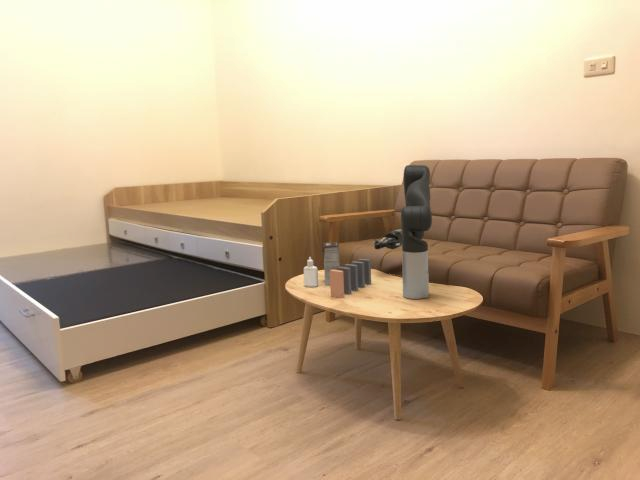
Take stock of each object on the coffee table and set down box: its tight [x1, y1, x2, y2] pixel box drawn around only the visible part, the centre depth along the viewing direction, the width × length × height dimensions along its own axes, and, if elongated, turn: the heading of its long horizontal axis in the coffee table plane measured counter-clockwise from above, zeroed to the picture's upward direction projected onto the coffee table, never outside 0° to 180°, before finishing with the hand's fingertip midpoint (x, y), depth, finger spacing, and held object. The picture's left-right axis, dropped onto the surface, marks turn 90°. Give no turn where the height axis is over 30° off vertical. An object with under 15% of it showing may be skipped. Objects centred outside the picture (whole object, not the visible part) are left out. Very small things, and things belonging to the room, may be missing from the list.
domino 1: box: [329, 270, 345, 299], centre depth 199 cm, size 2×5×10 cm, turn 54°
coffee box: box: [323, 241, 341, 286], centre depth 219 cm, size 9×6×16 cm
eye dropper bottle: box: [303, 256, 319, 288], centre depth 214 cm, size 4×6×12 cm
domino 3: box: [343, 263, 359, 292], centre depth 207 cm, size 2×5×10 cm, turn 54°
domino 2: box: [337, 266, 352, 295], centre depth 203 cm, size 2×5×10 cm, turn 54°
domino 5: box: [357, 258, 372, 286], centre depth 215 cm, size 2×5×10 cm, turn 54°
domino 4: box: [350, 260, 366, 289], centre depth 211 cm, size 2×5×10 cm, turn 54°
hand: (376, 246), depth 221 cm, fingers closed
